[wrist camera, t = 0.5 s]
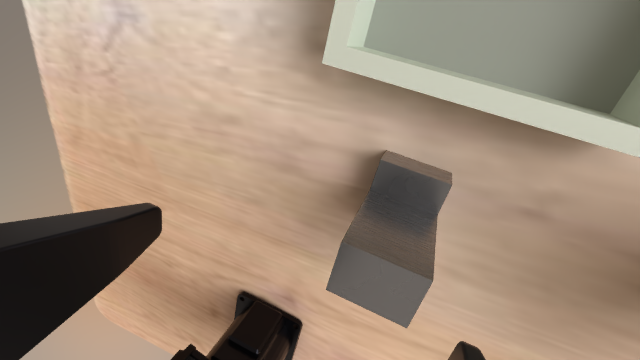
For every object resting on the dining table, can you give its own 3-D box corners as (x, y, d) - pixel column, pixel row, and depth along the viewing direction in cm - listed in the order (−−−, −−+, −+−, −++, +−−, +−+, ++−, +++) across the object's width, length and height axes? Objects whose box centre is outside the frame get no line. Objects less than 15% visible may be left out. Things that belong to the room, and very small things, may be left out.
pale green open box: (616, 139, 15) (660, 163, 12) (343, 60, 18) (321, 63, 15) (779, -86, 11) (908, -138, 8) (391, -136, 14) (375, -187, 11)
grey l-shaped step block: (419, 239, 20) (407, 328, 14) (362, 215, 21) (325, 289, 15) (451, 172, 18) (453, 243, 12) (386, 150, 19) (354, 203, 12)
